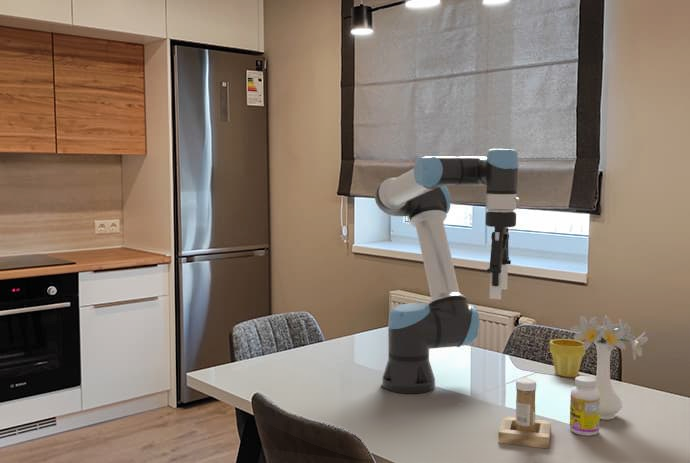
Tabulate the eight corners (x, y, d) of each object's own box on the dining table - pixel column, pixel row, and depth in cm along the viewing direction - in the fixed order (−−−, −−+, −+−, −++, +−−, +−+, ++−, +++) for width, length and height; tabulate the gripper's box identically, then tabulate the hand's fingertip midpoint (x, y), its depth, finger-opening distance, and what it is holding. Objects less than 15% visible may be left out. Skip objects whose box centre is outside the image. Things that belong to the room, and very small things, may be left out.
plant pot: (580, 369, 220) (581, 338, 220) (588, 379, 210) (589, 346, 209) (546, 368, 222) (547, 338, 221) (552, 378, 211) (553, 346, 210)
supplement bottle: (565, 426, 171) (566, 374, 170) (591, 426, 172) (593, 374, 171) (576, 437, 164) (577, 383, 163) (603, 436, 165) (605, 382, 164)
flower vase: (640, 430, 168) (643, 327, 166) (561, 417, 178) (563, 318, 176) (648, 414, 180) (651, 317, 177) (573, 402, 189) (576, 310, 187)
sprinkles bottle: (539, 437, 164) (540, 381, 163) (525, 442, 161) (526, 384, 160) (524, 431, 168) (525, 376, 167) (510, 435, 165) (511, 379, 164)
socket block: (498, 442, 161) (498, 431, 161) (503, 426, 172) (503, 416, 171) (548, 448, 158) (548, 437, 157) (550, 431, 168) (551, 421, 168)
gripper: (511, 214, 165) (508, 304, 167) (520, 207, 189) (518, 286, 191) (478, 213, 168) (476, 302, 170) (492, 207, 191) (490, 284, 193)
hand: (498, 293), depth 180 cm, fingers open, 13 cm apart
